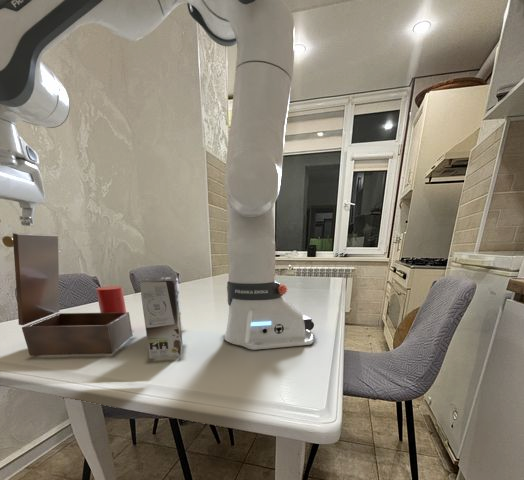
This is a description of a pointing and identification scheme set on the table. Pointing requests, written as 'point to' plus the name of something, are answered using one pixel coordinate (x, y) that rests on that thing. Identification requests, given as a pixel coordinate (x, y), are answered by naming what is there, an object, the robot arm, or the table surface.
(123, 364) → the table surface
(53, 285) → the chest lid
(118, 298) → the can
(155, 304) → the coffee box
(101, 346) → the chest
